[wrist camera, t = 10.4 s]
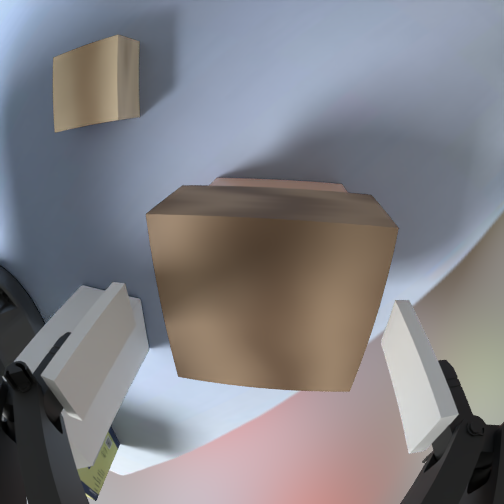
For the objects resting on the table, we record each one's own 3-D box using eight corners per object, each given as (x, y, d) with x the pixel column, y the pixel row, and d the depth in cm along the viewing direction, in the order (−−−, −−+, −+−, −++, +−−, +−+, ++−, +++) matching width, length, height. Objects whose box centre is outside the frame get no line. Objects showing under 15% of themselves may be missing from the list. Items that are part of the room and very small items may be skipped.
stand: (78, 127, 19) (54, 132, 17) (77, 59, 16) (53, 57, 14) (139, 117, 19) (118, 120, 16) (139, 41, 16) (118, 34, 13)
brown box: (197, 328, 20) (178, 376, 16) (182, 185, 15) (145, 214, 11) (342, 339, 19) (349, 391, 15) (371, 195, 14) (398, 228, 10)
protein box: (80, 426, 48) (53, 479, 34) (57, 388, 40) (20, 450, 26) (121, 444, 47) (97, 502, 33) (104, 410, 40) (69, 481, 26)
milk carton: (141, 297, 26) (33, 472, 9) (150, 349, 29) (76, 502, 13) (82, 283, 27) (-31, 421, 10) (96, 333, 30) (14, 462, 13)
